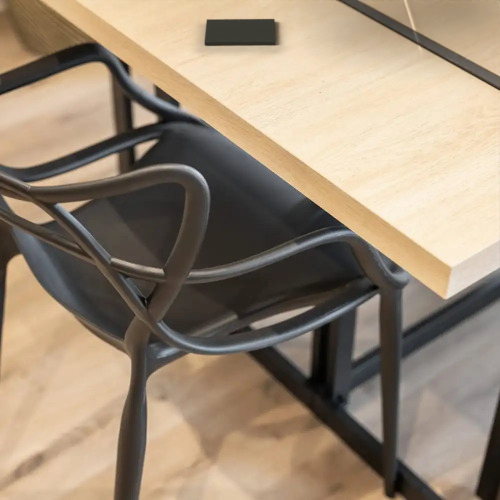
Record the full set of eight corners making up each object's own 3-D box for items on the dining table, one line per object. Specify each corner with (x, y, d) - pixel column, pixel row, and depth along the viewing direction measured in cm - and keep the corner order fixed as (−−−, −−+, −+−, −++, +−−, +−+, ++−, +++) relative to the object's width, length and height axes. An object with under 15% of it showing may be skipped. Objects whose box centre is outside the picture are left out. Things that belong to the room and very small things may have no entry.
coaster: (274, 21, 96) (274, 18, 95) (275, 44, 91) (275, 41, 91) (206, 22, 96) (206, 19, 95) (204, 45, 92) (204, 42, 91)
